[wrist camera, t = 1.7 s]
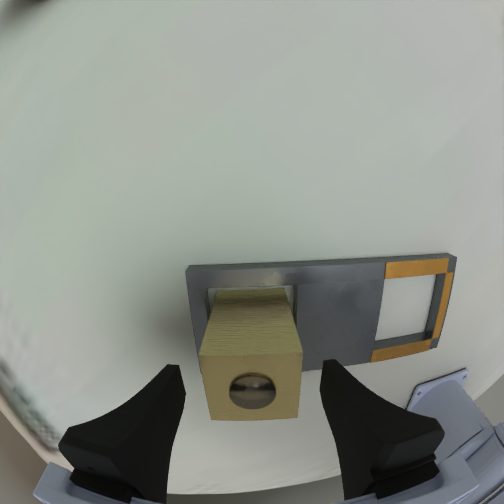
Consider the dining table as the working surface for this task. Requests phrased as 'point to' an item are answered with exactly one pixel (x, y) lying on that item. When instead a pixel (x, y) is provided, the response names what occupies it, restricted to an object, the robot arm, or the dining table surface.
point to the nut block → (251, 356)
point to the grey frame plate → (333, 302)
